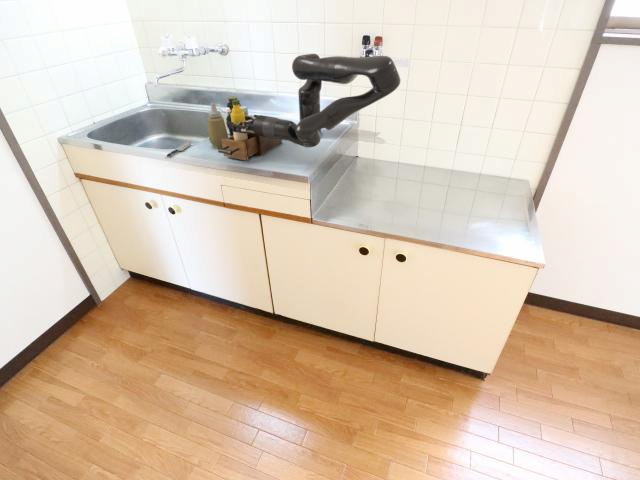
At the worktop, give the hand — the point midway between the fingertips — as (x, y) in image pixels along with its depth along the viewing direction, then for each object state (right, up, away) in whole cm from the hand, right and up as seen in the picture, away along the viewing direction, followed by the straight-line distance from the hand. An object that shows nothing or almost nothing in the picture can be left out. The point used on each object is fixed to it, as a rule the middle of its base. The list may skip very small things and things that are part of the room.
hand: (234, 121), depth 143 cm
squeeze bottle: (-10, -6, +17) cm, 20 cm away
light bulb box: (-6, +6, +33) cm, 34 cm away
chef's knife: (-25, -7, +14) cm, 30 cm away
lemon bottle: (+2, -10, +6) cm, 12 cm away
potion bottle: (-3, -1, +23) cm, 23 cm away
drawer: (+1, -11, +6) cm, 13 cm away
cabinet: (+7, -6, +15) cm, 18 cm away
